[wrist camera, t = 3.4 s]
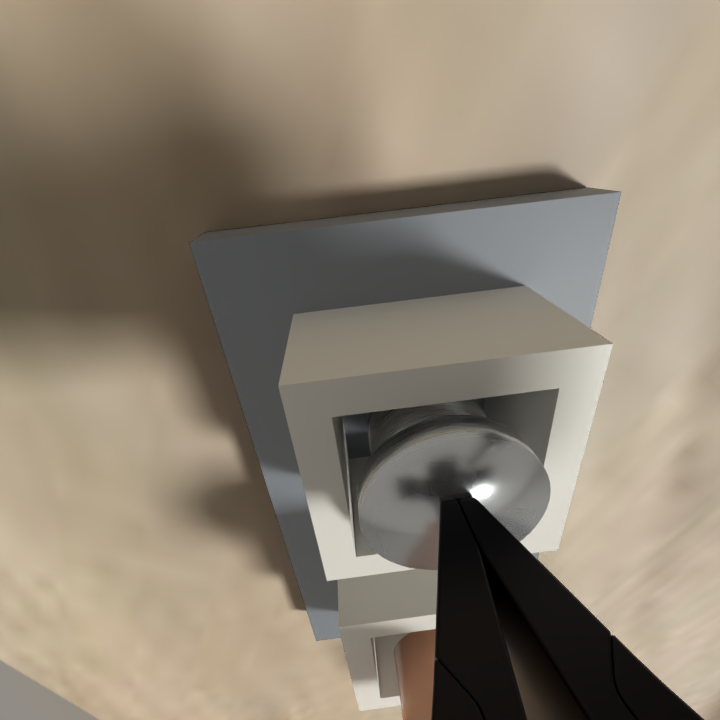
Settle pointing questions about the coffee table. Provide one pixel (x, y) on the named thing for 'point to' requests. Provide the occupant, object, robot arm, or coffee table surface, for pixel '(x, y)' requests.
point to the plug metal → (443, 477)
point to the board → (405, 373)
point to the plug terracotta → (416, 673)
